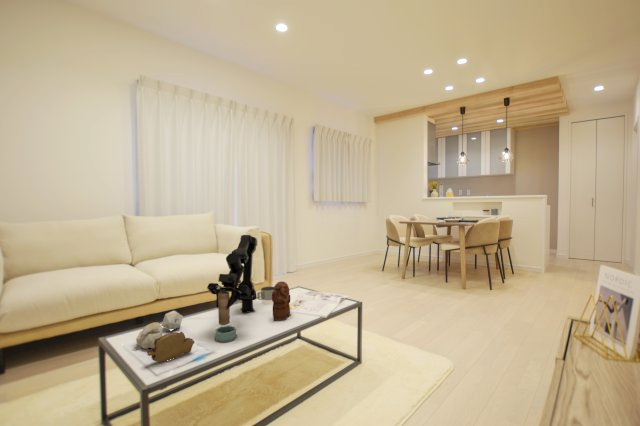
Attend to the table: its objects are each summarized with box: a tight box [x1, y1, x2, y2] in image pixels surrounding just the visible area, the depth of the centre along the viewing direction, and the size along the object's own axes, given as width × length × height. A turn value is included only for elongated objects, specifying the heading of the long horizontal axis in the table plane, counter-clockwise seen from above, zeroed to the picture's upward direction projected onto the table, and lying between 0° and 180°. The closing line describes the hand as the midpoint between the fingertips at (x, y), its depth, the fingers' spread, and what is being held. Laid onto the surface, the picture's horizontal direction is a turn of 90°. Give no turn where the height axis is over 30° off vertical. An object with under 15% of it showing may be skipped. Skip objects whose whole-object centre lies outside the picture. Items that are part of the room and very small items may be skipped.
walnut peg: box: [217, 289, 231, 326], centre depth 137 cm, size 4×4×15 cm
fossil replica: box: [136, 321, 163, 350], centre depth 131 cm, size 12×8×10 cm
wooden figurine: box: [271, 281, 291, 322], centre depth 161 cm, size 12×6×18 cm, turn 161°
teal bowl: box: [214, 325, 238, 344], centre depth 137 cm, size 9×9×4 cm
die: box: [160, 310, 184, 330], centre depth 147 cm, size 8×9×10 cm
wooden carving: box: [146, 331, 195, 363], centre depth 120 cm, size 16×5×10 cm, turn 136°
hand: (222, 307), depth 136 cm, fingers closed on walnut peg, 4 cm apart
